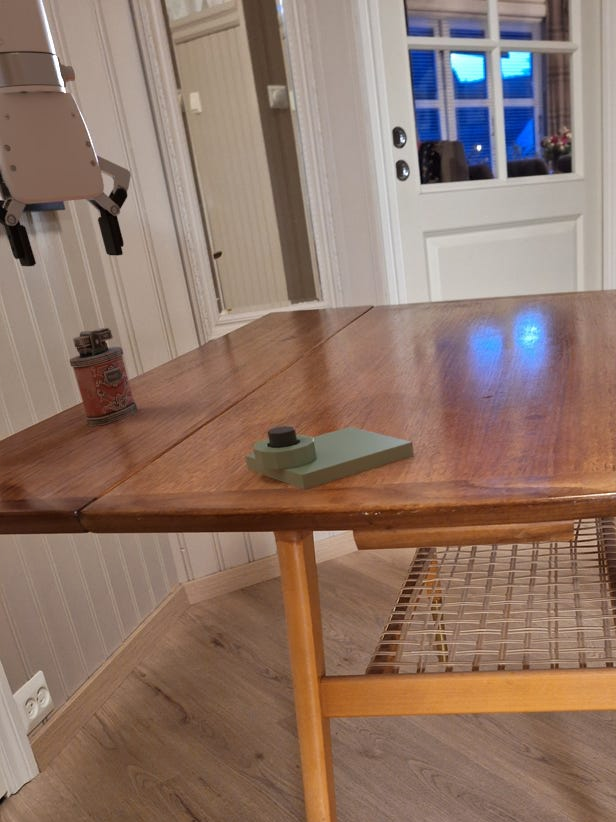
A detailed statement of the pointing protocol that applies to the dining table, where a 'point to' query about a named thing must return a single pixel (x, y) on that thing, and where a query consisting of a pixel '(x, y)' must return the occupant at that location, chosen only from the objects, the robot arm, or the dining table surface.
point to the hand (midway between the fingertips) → (73, 260)
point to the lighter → (102, 378)
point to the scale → (327, 456)
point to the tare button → (282, 437)
